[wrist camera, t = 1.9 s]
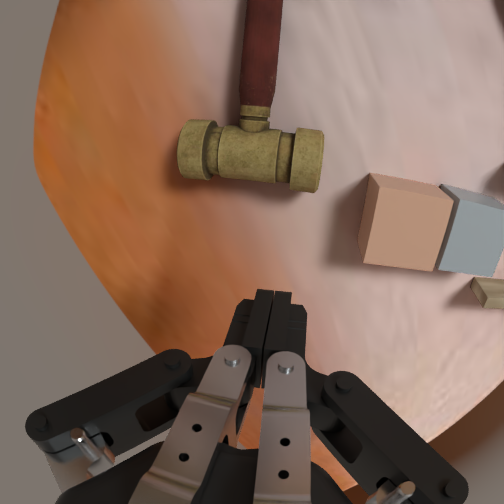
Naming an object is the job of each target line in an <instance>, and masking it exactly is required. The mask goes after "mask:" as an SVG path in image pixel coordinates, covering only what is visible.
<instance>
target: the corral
mask: <svg viewBox="0 0 504 504" xmlns="http://www.w3.org/2000/svg"><path fill="white" fill-rule="evenodd" d="M471 289H472V290H473V292H474V294H475V295H476V297H477V298H478V300H479V302H480V303H481V305H482V307H483V308H497V309H504V280H502V279H491V278H480V277H474V279H473V282H472V284H471Z"/></svg>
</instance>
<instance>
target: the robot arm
mask: <svg viewBox="0 0 504 504" xmlns="http://www.w3.org/2000/svg"><path fill="white" fill-rule="evenodd" d="M291 295H292V292H283V291H275V295H274V291H273V290H263V289H257V292H256V296H255V299H254V300H250V299H243V300H242V301H241V302H240V303H239V304H238V305H237V307H236V310H235V313H234V316H233V319H232V322H231V325H230V327H229V330H228V333H227V336H226V339H225V342H224V345H223V347H221V348H219V349H218V350H217V351H216V352H215V354H214V355H213V356H211V357H207V358H199V359H191V358H190V356H189V355H188V354H187V353H186V352H184V351H182V350H179V349H169V350H166V351H163V352H161V353H159V354H157V355H155V356H153V357H151V358H149V359H147V360H145V361H143V362H141V363H139V364H137V365H135V366H133V367H131V368H129V369H126V370H124V371H122V372H120V373H118V374H116V375H114V376H112V377H110V378H107V379H105V380H103V381H101V382H99V383H96V384H94V385H92V386H90V387H88V388H86V389H84V390H81V391H79V392H77V393H75V394H72V395H70V396H68V397H65V398H63V399H61V400H59V401H56V402H54V403H52V404H49V405H47V406H45V407H42V408H40V409H38V410H35V411H34V412H33V413H31V414H30V415H29V417H28V418H27V420H26V424H25V428H26V432H27V434H28V435H29V437H30V438H31V439H32V440H33V441H34V442H35V443H36V444H37V445H38V447H39V448H40V449H41V450H42V451H43V452H44V453H45V456H46V458H47V461H48V463H49V465H50V468H51V470H52V472H53V475H54V477H55V479H56V481H57V483H58V486H59V488H60V490H61V492H62V494H61V495H60V496H59V498H58V500H57V501H56V503H55V504H352V502H351V501H350V500H349V499H348V498H347V496H346V495H345V494H344V493H343V491H342V490H341V489H340V488H339V486H338V485H337V484H336V483H335V481H334V480H333V479H332V477H331V476H330V475H329V474H328V473H327V472H326V471H325V470H324V469H323V468H321V467H320V466H319V465H317V464H315V463H313V462H311V449H310V426H311V427H312V430H313V432H314V433H315V434H316V436H317V437H318V438H319V439H320V440H321V442H322V443H323V444H324V445H325V446H326V447H327V449H328V450H329V451H330V452H331V453H332V454H333V456H334V457H335V458H336V459H337V460H338V461H339V462H340V464H341V465H342V466H343V467H344V468H345V469H346V470H347V472H348V473H349V474H350V475H351V476H352V477H353V478H354V479H355V481H356V482H357V483H358V484H359V485H360V486H361V487H362V488H363V489H364V490H365V492H367V494H368V495H369V498H368V500H367V502H366V504H463V503H464V502H465V500H466V498H467V496H468V483H467V481H466V479H465V478H464V477H463V476H462V475H461V474H460V473H459V472H458V471H457V470H455V469H454V468H453V467H452V466H451V465H450V464H449V463H448V462H447V461H446V460H445V459H444V458H443V457H441V456H440V455H439V454H438V453H437V452H436V451H435V450H434V449H433V448H432V447H431V446H430V445H429V444H428V443H427V442H425V441H424V440H423V439H422V438H421V437H420V436H419V435H418V434H417V433H416V432H415V431H414V430H413V429H412V428H411V427H410V426H409V425H407V424H406V423H405V422H404V421H403V420H402V419H401V418H400V417H399V416H398V415H397V414H396V413H395V412H394V411H393V410H392V409H391V408H390V407H389V406H387V405H386V404H385V403H384V402H383V401H382V400H381V399H380V398H379V397H378V396H377V395H376V394H375V393H374V392H373V391H372V390H371V389H370V388H369V387H368V386H367V385H366V384H365V383H364V382H362V381H361V380H360V379H359V378H358V377H357V376H356V375H354V374H353V373H350V372H347V371H337V372H334V373H331V374H330V375H329V376H327V375H324V374H321V373H319V372H316V371H315V370H313V369H312V368H310V367H309V365H308V364H307V362H306V360H305V344H306V326H307V312H306V310H305V308H304V307H303V305H296V304H291ZM261 379H262V387H261V388H265V389H264V400H263V410H262V421H261V432H260V442H259V449H246V450H241V449H237V442H238V439H239V435H240V432H241V429H242V426H243V423H244V420H245V417H246V414H247V411H248V408H249V405H250V399H251V397H252V394H253V389H254V387H256V388H260V384H261ZM169 428H171V429H170V431H169V433H168V435H167V437H166V439H165V441H162V442H159V443H156V444H154V445H152V446H150V447H148V448H146V449H145V450H143V451H141V452H139V453H138V454H136V455H134V456H132V457H130V458H129V459H127V460H125V461H123V462H121V463H119V464H118V465H116V466H114V467H112V466H113V465H114V462H115V457H116V456H118V455H120V454H122V453H124V452H126V451H128V450H130V449H132V448H134V447H136V446H138V445H139V444H141V443H143V442H145V441H147V440H149V439H151V438H153V437H155V436H156V435H158V434H160V433H162V432H164V431H166V430H167V429H169Z"/></svg>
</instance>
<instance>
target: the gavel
mask: <svg viewBox="0 0 504 504" xmlns="http://www.w3.org/2000/svg"><path fill="white" fill-rule="evenodd" d="M282 6H283V0H248V1H247V10H246V20H245V30H244V41H243V51H242V62H241V74H240V85H239V92H240V102H241V109H240V115H242V119H239V126H232V125H226V126H225V127H218V125H217V123H216V121H214V120H192V119H191V120H188V121H187V122H186V123H185V125H184V126H183V128H182V130H181V132H180V135H179V139H178V144H177V163H178V168H179V170H180V173H181V174H182V176H183V177H184V178H190V179H201V180H210V179H211V178H212V176H213V174H214V175H220V176H221V177H224V178H233V179H242V180H251V181H260V182H268V183H276V182H285V183H290V190H296V191H303V192H310V193H315V192H316V191H317V189H318V185H319V180H320V174H321V167H322V159H323V150H324V134H323V132H322V131H319V130H312V129H304V128H297V130H296V133H295V134H293V133H285V132H282V130H277V129H269V123H270V122H269V121H267V118H268V117H270V108H271V104H272V101H273V97H274V93H275V86H276V74H277V63H278V52H279V41H280V29H281V18H282Z"/></svg>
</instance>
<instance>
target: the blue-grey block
mask: <svg viewBox="0 0 504 504" xmlns="http://www.w3.org/2000/svg"><path fill="white" fill-rule="evenodd" d="M441 190H442V191H443V192H444V193H446V194H447V195H448V196H449V197H450V198H451V199H452V200H453V201H454V202H453V206H452V210H451V213H450V217H449V221H448V224H447V228H446V231H445V234H444V238H443V241H442V244H441V247H440V250H439V253H438V256H437V259H436V262H435V265H436V267H437V269H438V270H443V271H451V272H458V273H465V274H473V275H480V276H487V277H492V276H493V273H494V271H495V269H496V266H497V264H498V261H499V259H500V256H501V253H502V251H503V248H504V204H502V203H501V202H500V201H498V200H497V199H495V198H494V197H491V196H487V195H484V194H480V193H476V192H472V191H469V190H465V189H461V188H457V187H453V186H448V185H444V184H442V185H441Z"/></svg>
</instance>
